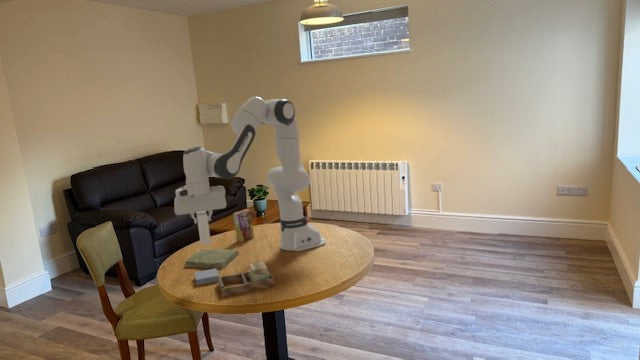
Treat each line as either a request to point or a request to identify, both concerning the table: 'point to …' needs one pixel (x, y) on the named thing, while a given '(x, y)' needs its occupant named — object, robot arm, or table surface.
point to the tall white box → (203, 228)
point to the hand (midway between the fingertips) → (202, 222)
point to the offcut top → (258, 268)
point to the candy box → (243, 225)
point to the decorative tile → (211, 258)
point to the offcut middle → (259, 277)
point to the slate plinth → (206, 276)
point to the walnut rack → (245, 286)
